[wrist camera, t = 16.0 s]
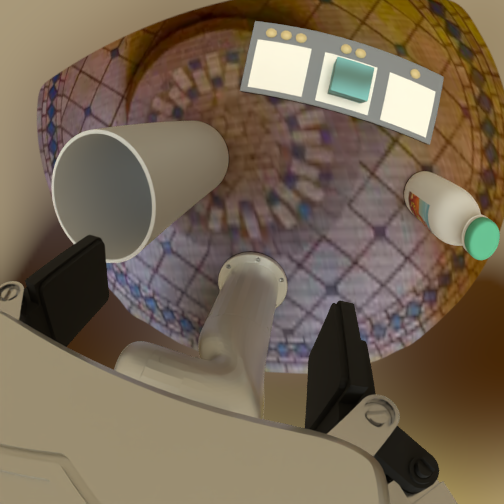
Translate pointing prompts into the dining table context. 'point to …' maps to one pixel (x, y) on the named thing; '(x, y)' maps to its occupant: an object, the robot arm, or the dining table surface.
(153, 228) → the cylinder vase
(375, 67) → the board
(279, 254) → the dining table surface
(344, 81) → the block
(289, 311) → the dining table surface
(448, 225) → the milk bottle
